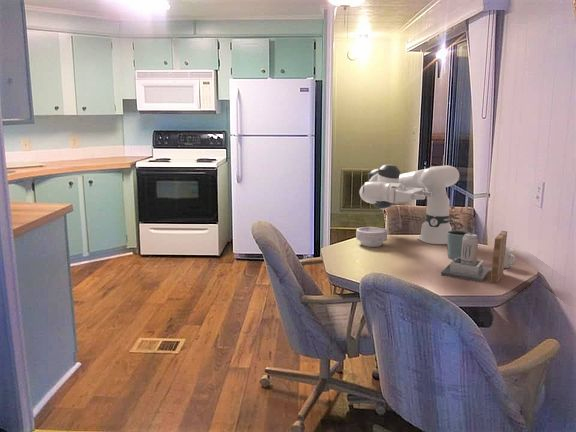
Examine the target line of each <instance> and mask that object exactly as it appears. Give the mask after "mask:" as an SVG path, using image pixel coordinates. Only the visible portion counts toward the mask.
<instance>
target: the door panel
mask: <svg viewBox="0 0 576 432" xmlns="http://www.w3.org/2000/svg"><path fill="white" fill-rule="evenodd" d="M507 236H508V231H505V230H501V232H499V234H498V235H497V236H495V238H494V245H493V254H492V255H493V256H492V264H491V265H492V266H491V277H490V284H493V285H497V284H498V282H499V281H500V279H501V277H502V276H503V275H504V269H505V268H504V258H505V249H506V247H507V240H508V239H507Z"/></svg>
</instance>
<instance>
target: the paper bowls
mask: <svg viewBox="0 0 576 432" xmlns="http://www.w3.org/2000/svg"><path fill="white" fill-rule="evenodd" d="M355 236H356V237H355V238H356V240H358V241H359V243H360V245H362V246H364V247H367V248H376V247H377V248H378V247H380V246H382V245H383V244H384V242H386V241H387V240H388V230H387V229H385V228H383V227H375V226H362V227H358V228H356V231H355Z"/></svg>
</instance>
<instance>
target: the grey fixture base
mask: <svg viewBox="0 0 576 432" xmlns="http://www.w3.org/2000/svg"><path fill="white" fill-rule="evenodd" d="M460 263H461V257H456V258H455V259H454V260H451V262H449V264H448V265H447V266H446V267H445V268H444V269H443V270H442V271H441V273H440V276H441V277H447V278H453V279H460V280H465V281H470V282H477V283H483V282H484V281H485V280H486V278H487V277H488V276H489V274H490V273H491V272H492V267H488V266H484V263H485V261H484V260H482V259H481V260H480V259H476V266H472V265H466V264H460Z"/></svg>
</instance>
